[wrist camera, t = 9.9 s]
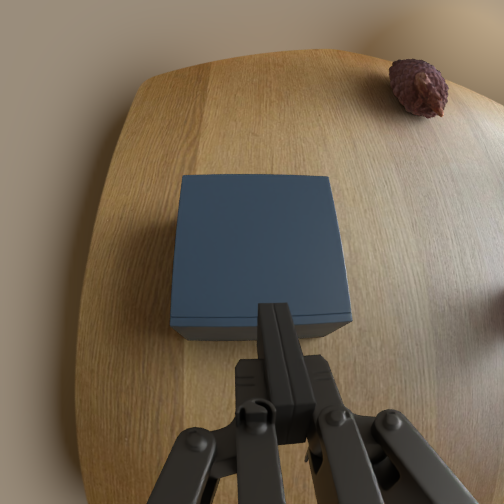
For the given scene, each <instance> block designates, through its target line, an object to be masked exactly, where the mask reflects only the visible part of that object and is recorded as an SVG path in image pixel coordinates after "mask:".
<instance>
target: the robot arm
mask: <svg viewBox="0 0 504 504" xmlns="http://www.w3.org/2000/svg"><path fill="white" fill-rule="evenodd" d="M257 352H258V359H240V360H239V362H238V363H237V365H236V367H235V397H236V411H235V418H234V420H233V421H232V422H231V423H230V424H229V425H228V426H226V427H224V428H221V429H218V430H214V431H209V430H206V429H204V428H199V427H193V428H188V429H186V430H184V431H182V432H181V433H180V434H179V436H178V437H177V439H176V441H175V443H174V445H173V447H172V450H171V452H170V454H169V456H168V458H167V460H166V463H165V465H164V467H163V469H162V471H161V473H160V476H159V478H158V480H157V482H156V484H155V486H154V488H153V491H152V493H151V495H150V497H149V499H148V501H147V504H212V502H213V499H214V496H215V493H216V490H217V487H218V484H219V481H220V478H222V477H226V476H229V475H233V474H236V473H237V483H238V504H286V501H285V494H284V487H283V480H282V473H281V466H280V458H279V451H278V445H285V444H296V443H305V441H306V438H307V439H308V443H309V447H308V450H307V453H306V456H305V462H307V461H308V459H309V464H310V469H311V474H312V479H313V484H314V489H315V494H316V499H317V504H384V503H385V504H479V503H478V502H477V501H476V500H475V498H474V497H473V496H472V495H471V494H470V492H469V491H468V490H467V489H466V488H465V486H464V485H463V484H462V483H461V482H460V480H459V479H458V478H457V477H456V476H455V474H454V473H453V472H452V471H451V470H450V468H449V467H448V466H447V465H446V464H445V463H444V461H443V460H442V459H441V458H440V457H439V455H438V454H437V453H436V452H435V451H434V450H433V448H432V447H431V446H430V445H429V444H428V442H427V441H426V440H425V439H424V438H423V437H422V435H421V434H420V433H419V432H418V431H417V429H416V428H415V427H414V426H413V425H412V424H411V422H410V421H409V420H408V419H407V418H406V417H405V415H403V414H402V413H401V412H399V411H397V410H392V409H387V410H383V411H381V412H380V413H379V414H377V416H376V417H370V416H360V415H356V414H354V413H352V412H351V410H349V409H348V408H346V407H345V406H344V404H343V402H342V399H341V397H340V394H339V391H338V388H337V386H336V383H335V380H334V379H333V375H332V372H331V369H330V367H329V364H328V362H327V361H326V360H325V359H324V358H323V357H322V356H321V355H309V356H303V353H302V350H301V346H300V343H299V340H298V336H297V333H296V329H295V326H294V323H293V319H292V316H291V312H290V309H289V306H288V302H286V303H258V319H257Z"/></svg>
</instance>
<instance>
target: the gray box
mask: <svg viewBox="0 0 504 504" xmlns="http://www.w3.org/2000/svg"><path fill="white" fill-rule="evenodd" d="M286 302H288V306H289V309H290V312H291V316H292V319H293V323H294V326H295V329H296V333H297V336H298V338H313V337H324V336H326V335H328V334H330V333H332V332H334V331H336V330H337V329H339V328H341V327H343V326H345V325H346V324H348V323H350V322H352V321H353V320H352V313H351V304H350V296H349V288H348V281H347V274H346V268H345V261H344V255H343V249H342V243H341V237H340V232H339V226H338V221H337V216H336V210H335V205H334V201H333V196H332V191H331V186H330V182H329V177H327V176H306V175H274V174H212V175H183V176H182V184H181V192H180V200H179V209H178V218H177V228H176V238H175V249H174V261H173V275H172V291H171V310H170V317H171V318H170V326H171V327H172V328H173V329H174V330H175V331H177V332H178V333H179V334H180V335H182V336H183V337H184V338H185V339H187V340H195V341H245V340H257V319H258V303H286Z"/></svg>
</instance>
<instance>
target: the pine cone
mask: <svg viewBox="0 0 504 504" xmlns="http://www.w3.org/2000/svg"><path fill="white" fill-rule="evenodd" d="M392 65H393V66H391V67H390V68H389V72H390V73H389V76H390V80H391V81H390V86H391V88H392V89H393V93H394V95H395V96H396V97H397V98H398V99H399V101H400V103H401V104H402V105H404V106H405V109H406V111H407V112H412V113H413V114H414V115H418V116H424V117H426V118H430V117H435V116H436V115H439V116H440V117H442V116H443V115H444V112H443V110H444V107H445V104H446V103H447V102H448V100H447V97H448V92H447V91H448V89H449V88H448V85H447V84H446V83H445V79H444V78H443V77H442V76H441V72H440V71H438V70H436V69H435V67H434V66H433V65H430V64H429V63H427V62H425V61H423V60H415V59H406V60H398V61H394V62H393V63H392Z"/></svg>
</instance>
